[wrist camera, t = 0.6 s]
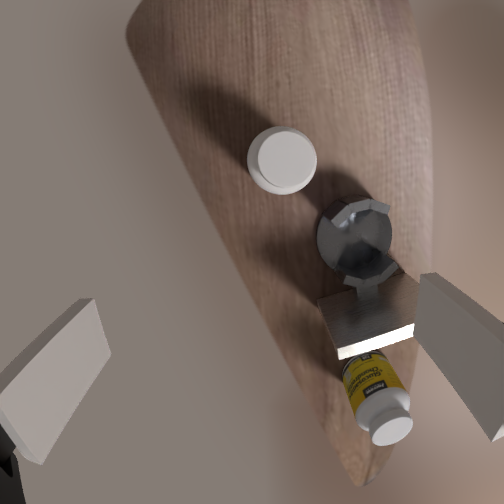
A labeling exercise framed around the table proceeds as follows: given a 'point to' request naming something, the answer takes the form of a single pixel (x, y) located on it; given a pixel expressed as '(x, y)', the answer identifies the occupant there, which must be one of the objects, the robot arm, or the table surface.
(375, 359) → the pill bottle
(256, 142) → the pill bottle
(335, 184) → the table surface
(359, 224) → the cup bracket
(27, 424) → the robot arm
